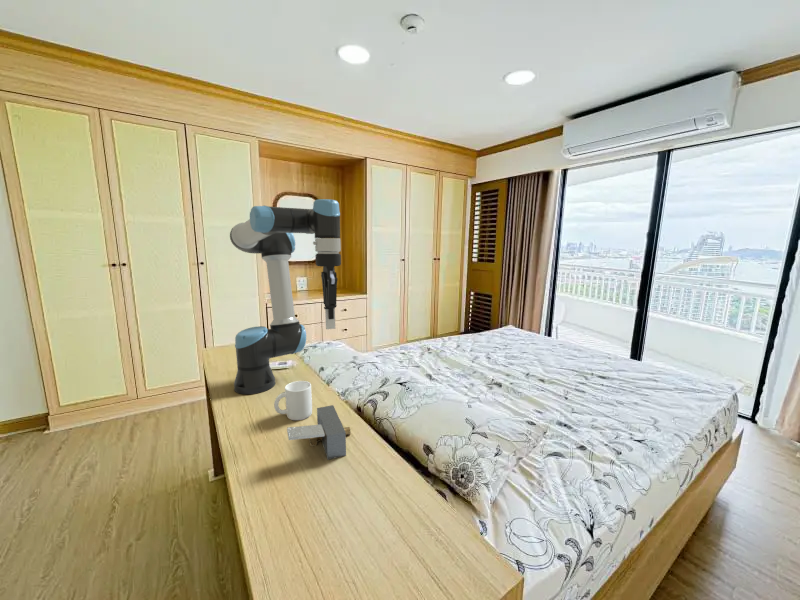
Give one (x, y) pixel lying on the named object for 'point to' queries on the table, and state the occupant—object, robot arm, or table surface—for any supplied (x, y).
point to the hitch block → (332, 432)
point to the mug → (296, 400)
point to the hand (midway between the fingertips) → (330, 328)
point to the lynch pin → (314, 440)
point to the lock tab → (305, 432)
